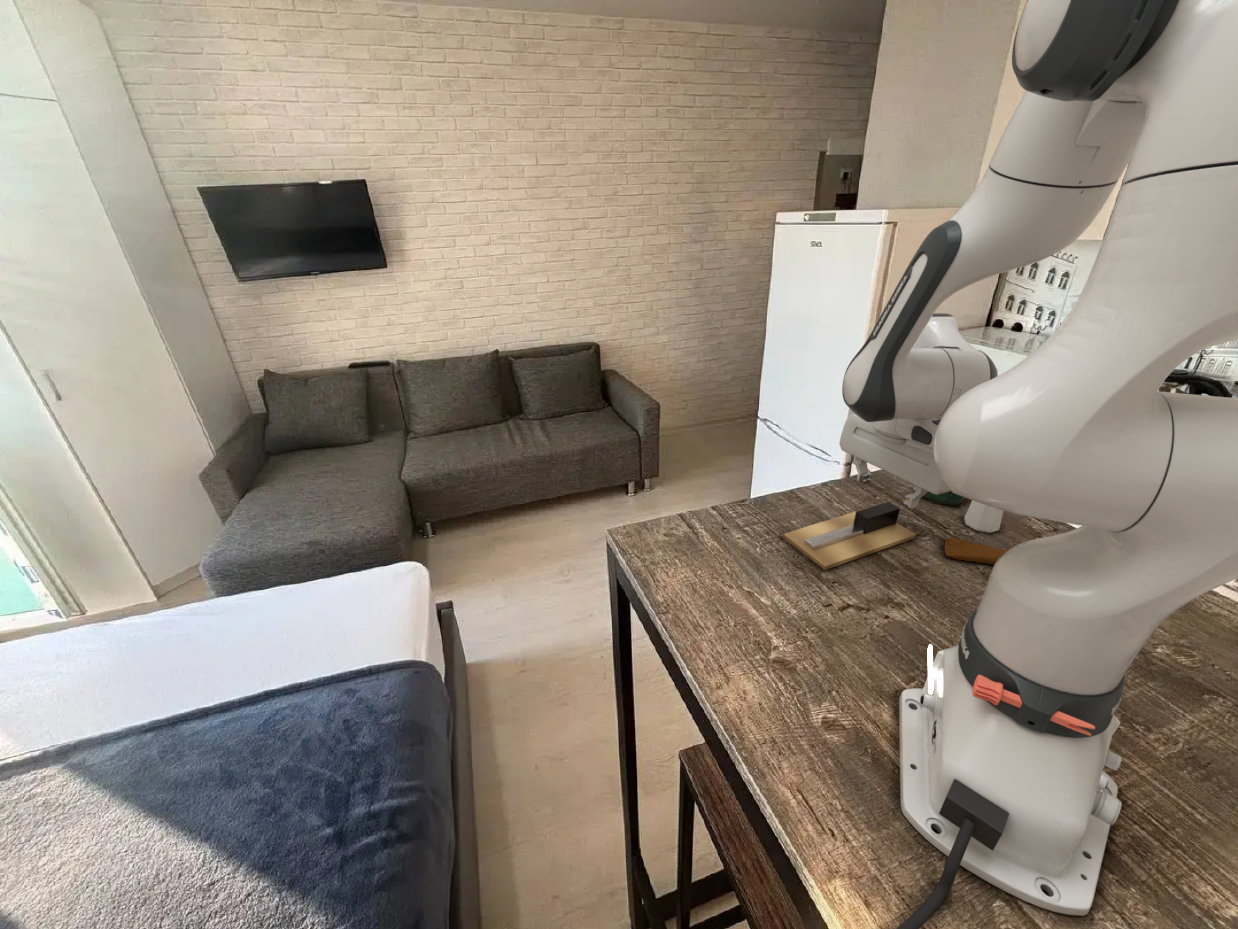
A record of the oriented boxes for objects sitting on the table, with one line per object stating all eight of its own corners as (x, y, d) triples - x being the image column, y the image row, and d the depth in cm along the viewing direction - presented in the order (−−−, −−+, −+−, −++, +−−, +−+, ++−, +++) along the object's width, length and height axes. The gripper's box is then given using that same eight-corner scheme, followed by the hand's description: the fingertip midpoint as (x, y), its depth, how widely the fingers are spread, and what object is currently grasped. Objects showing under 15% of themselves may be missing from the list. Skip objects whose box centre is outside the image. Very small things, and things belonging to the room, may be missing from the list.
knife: (813, 551, 84) (816, 535, 82) (802, 542, 86) (805, 526, 84) (896, 523, 90) (900, 508, 88) (884, 516, 92) (887, 501, 91)
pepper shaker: (958, 524, 90) (976, 469, 85) (968, 513, 94) (986, 459, 89) (994, 537, 87) (1014, 480, 82) (1003, 524, 90) (1023, 469, 85)
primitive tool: (944, 557, 82) (950, 539, 81) (944, 539, 87) (949, 522, 85) (1097, 593, 74) (1107, 574, 72) (1088, 572, 78) (1097, 553, 76)
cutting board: (824, 570, 80) (825, 566, 80) (782, 537, 89) (783, 533, 88) (915, 538, 87) (916, 534, 87) (868, 510, 96) (869, 506, 95)
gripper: (838, 401, 88) (825, 472, 94) (949, 442, 71) (926, 526, 77) (864, 396, 90) (851, 466, 96) (979, 434, 73) (954, 517, 79)
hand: (885, 493), depth 87 cm, fingers open, 8 cm apart
